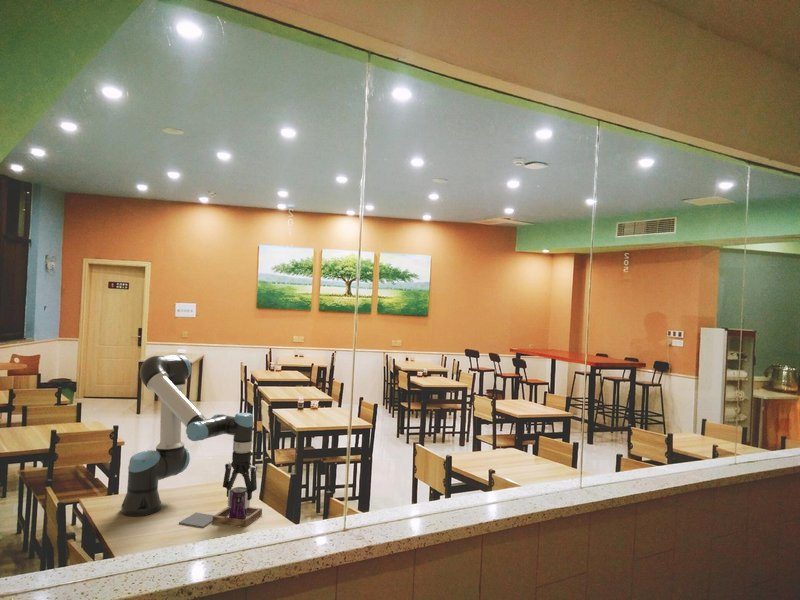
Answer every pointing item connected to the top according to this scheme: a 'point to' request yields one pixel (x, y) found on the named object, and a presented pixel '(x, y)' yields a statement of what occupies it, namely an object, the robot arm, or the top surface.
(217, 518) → the frame
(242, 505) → the beverage can
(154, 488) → the robot arm
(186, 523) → the coaster
